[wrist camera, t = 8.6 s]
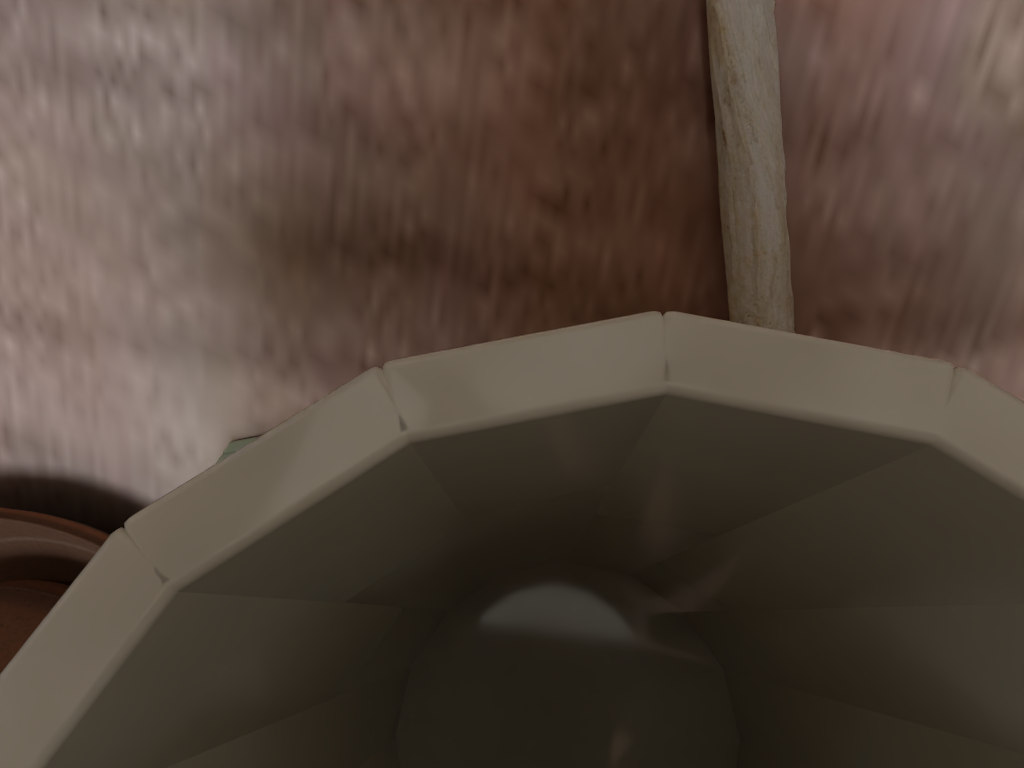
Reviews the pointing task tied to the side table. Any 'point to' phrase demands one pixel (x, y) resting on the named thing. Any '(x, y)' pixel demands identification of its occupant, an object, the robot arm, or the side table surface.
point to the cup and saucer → (37, 570)
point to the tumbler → (567, 571)
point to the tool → (751, 161)
